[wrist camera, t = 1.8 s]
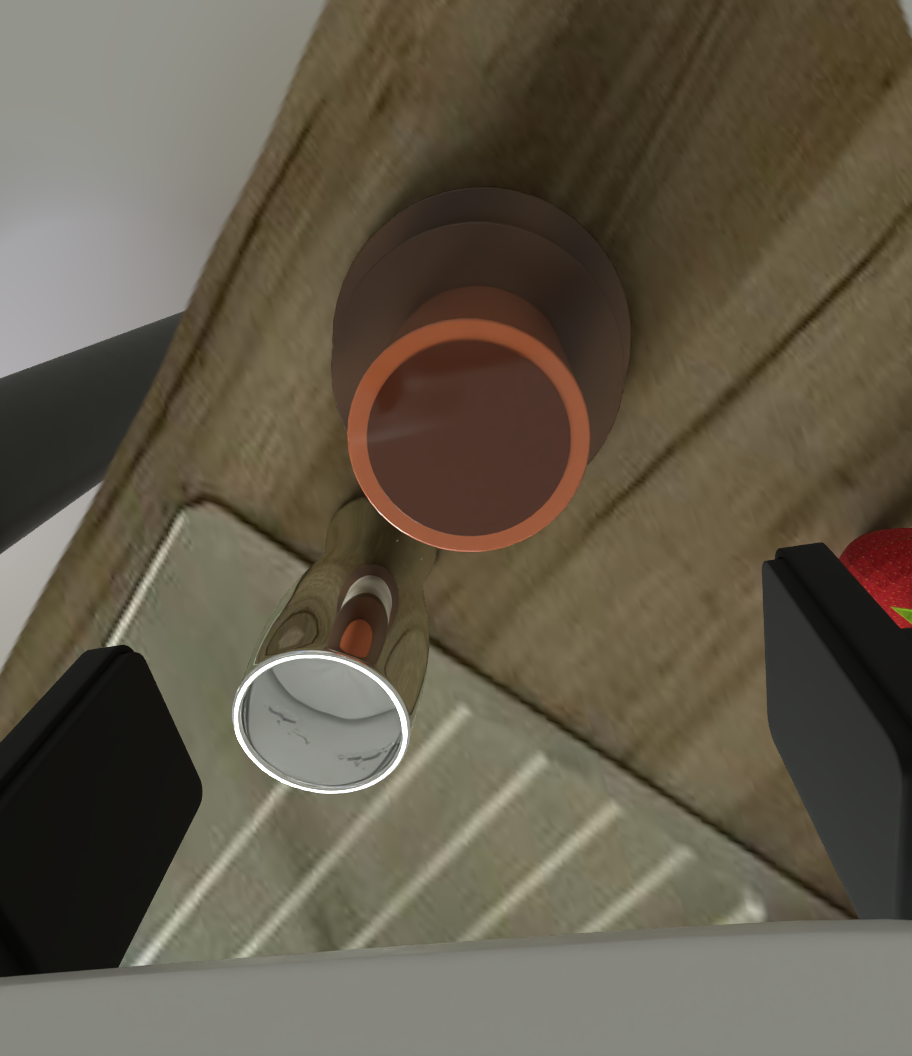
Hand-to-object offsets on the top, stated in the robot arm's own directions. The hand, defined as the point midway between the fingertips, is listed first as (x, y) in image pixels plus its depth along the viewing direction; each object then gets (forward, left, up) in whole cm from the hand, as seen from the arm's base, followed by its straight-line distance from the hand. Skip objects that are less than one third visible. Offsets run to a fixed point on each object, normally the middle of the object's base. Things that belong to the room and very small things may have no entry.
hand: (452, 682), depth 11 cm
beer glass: (+3, -12, -27) cm, 29 cm away
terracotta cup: (0, 0, -20) cm, 20 cm away
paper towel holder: (0, 0, -27) cm, 27 cm away
